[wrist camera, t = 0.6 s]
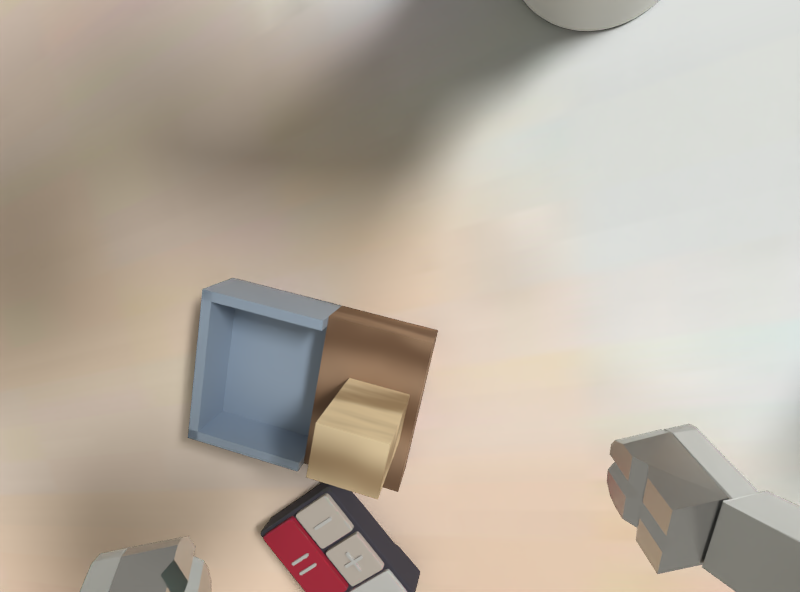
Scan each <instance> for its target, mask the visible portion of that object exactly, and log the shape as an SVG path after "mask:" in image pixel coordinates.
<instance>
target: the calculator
mask: <svg viewBox="0 0 800 592" xmlns="http://www.w3.org/2000/svg"><path fill="white" fill-rule="evenodd" d="M261 536H262V537H263V539H264V541H265V542H266V543H267V544H268V546H269V547H270V548H271V549H272V551H273V552H274V553H275V554H276V556H277V557H278V558H279V559H280V561H281V562H282V563H283V564H284V566H285V567H286V568H287V569H288V571H289V572H290V573H291V574H292V576H293V577H294V578H295V579H296V581H297V582H298V583H299V584H300V586H301V587H302V588H303V589H304V591H305V592H415V591H416V587H417V583H418V579H419V575H420V571H419V570H418V568H417V567H416V566H415V565H414V564H413V562H412V561H411V560H410V559H409V558H408V557H407V555H406V554H405V553H404V552H403V551H402V550H401V548H400V547H399V546H398V545H395V544H394V543H393V541H392V540H391V539H390V538H389V536H388V535H387V534H386V533H385V531H384V530H383V529H382V528H381V526H380V525H379V524H378V523H377V521H376V520H375V519H374V518H373V516H372V515H371V514H370V513H369V511H368V510H367V509H366V508H365V507H364V505H363V504H362V503H361V502H360V501H359V500H358V498H357V497H356V496H355V495H354V494H353V492H352V491H349V490H346V489H342V488H339V487H336V486H333V485H329V484H326V483H323V482H322V483H321V484H320V485H318V486H317V487H315V488H314V489H312V490H311V491H309V492H308V493H307V494H305V495H304V496H302V497H301V498H299V499H298V500H296V501H295V502H294V503H292V504H291V505H289V506H288V507H286V508H285V509H283V510H282V511H281V512H279V513H278V514H276V515H275V516H273V517H272V518H271V519H270V521H269V522H268V523H267V525H266V526H265V527H264V528H263V530H262V531H261Z"/></svg>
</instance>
